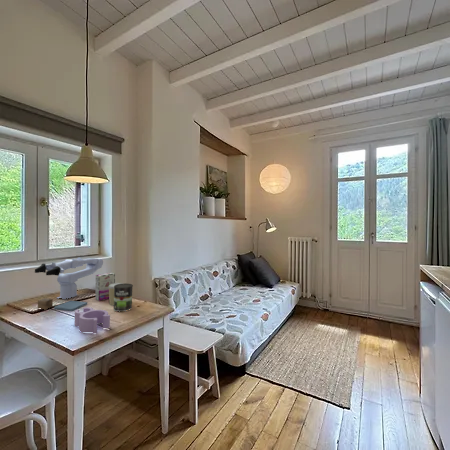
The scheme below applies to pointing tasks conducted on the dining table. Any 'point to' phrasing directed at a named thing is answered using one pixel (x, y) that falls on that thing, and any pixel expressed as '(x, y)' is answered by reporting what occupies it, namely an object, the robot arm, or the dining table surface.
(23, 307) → the dining table surface
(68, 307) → the slate board
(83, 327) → the clip
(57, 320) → the dining table surface
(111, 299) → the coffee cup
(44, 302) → the walnut cube
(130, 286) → the coffee can
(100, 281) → the candy bar box
